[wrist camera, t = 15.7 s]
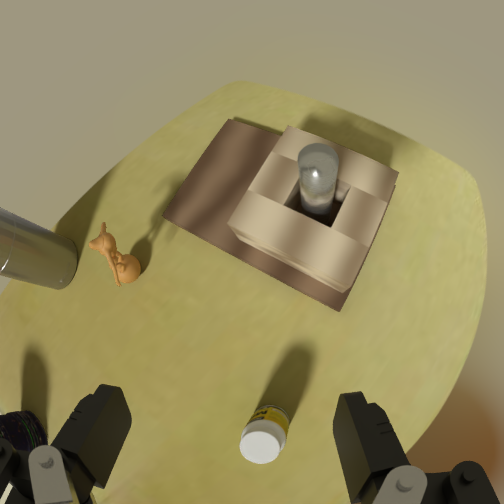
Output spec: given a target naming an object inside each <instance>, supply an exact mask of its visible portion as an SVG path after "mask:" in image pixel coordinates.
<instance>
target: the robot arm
mask: <svg viewBox="0 0 504 504" xmlns="http://www.w3.org/2000/svg"><path fill="white" fill-rule="evenodd" d="M76 267H77V250H76V247H75V245H74V243H73V242H72V241H71V240H70V239H67V238H65V237H63V236H61V235H58V234H56V233H54V232H52V231H50V230H47V229H45V228H43V227H41V226H39V225H36V224H34V223H32V222H30V221H28V220H26V219H24V218H21V217H19V216H17V215H15V214H13V213H11V212H8V211H7V210H5V209H3V208H1V207H0V275H2V276H5V277H9V278H13V279H17V280H20V281H24V282H28V283H32V284H36V285H41V286H45V287H49V288H54V289H63V288H65V287H66V286H67V285H68V284H69V283H70V282H71V280H72V278H73V276H74V274H75V271H76ZM131 422H132V418H131V413H130V410H129V408H128V405H127V403H126V400H125V397H124V394H123V391H122V389H121V388H120V387H116V386H111V385H106V384H101V385H99V387H98V388H97V390H96V391H95V393H94V394H89V395H87V396H86V397H85V398H83V399H82V400H80V402H79V403H78V405H77V406H76V407H75V409H74V412H72V413H71V415H70V416H69V419H67V421H66V422H65V424H64V425H63V427H62V428H61V430H60V431H59V433H58V435H57V436H56V438H55V439H54V441H53V442H52V444H51V445H50V446H49V445H42V446H39V447H37V448H35V449H34V450H33V451H32V452H29V451H22V450H17V449H14V447H13V446H12V445H11V443H10V442H9V441H8V440H6V439H4V438H0V499H1V497H2V495H3V493H4V491H5V489H6V487H7V485H8V483H10V484H11V485H12V486H13V487H12V489H11V491H10V493H9V496H8V497H7V500H6V502H5V504H97V503H96V501H95V498H94V495H93V493H92V492H91V490H92V488H93V486H96V487H99V488H102V489H104V488H105V486H106V483H107V481H108V479H109V476H110V474H111V471H112V469H113V467H114V464H115V462H116V460H117V457H118V455H119V453H120V450H121V448H122V446H123V443H124V441H125V439H126V437H127V434H128V432H129V430H130V427H131ZM333 435H334V439H335V442H336V446H337V450H338V454H339V458H340V462H341V466H342V469H343V473H344V477H345V481H346V485H347V489H348V493H349V498H350V502H351V504H354V503H358V502H361V504H500V502H499V500H498V498H497V496H496V494H495V492H494V489H493V487H492V486H491V483H490V481H489V479H488V477H487V475H486V473H485V471H484V469H483V468H482V467H481V465H479V464H478V463H476V462H473V461H464V462H461V463H459V464H457V465H456V466H455V467H454V468H453V470H452V471H450V472H441V473H424V472H423V471H422V470H421V469H419V468H417V467H414V466H411V464H410V463H409V461H408V459H407V457H406V455H405V453H404V451H403V448H402V446H401V444H400V442H399V440H398V438H397V436H396V433H395V432H394V429H393V427H392V425H391V423H390V421H389V419H388V417H387V415H386V413H385V411H384V410H383V409H382V408H381V407H380V406H378V405H377V404H376V403H370V404H367V401H366V399H365V397H364V395H363V393H362V392H361V391H359V392H352V393H344V394H340V396H339V400H338V404H337V408H336V412H335V416H334V420H333Z"/></svg>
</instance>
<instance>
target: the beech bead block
mask: <svg viewBox="0 0 504 504" xmlns="http://www.w3.org/2000/svg"><path fill="white" fill-rule="evenodd" d="M313 143H322V144H326V145H328V146H330V147H331V148H333V149H334V150H335V152H336V153H337V155H338V158H339V165H338V172H337V178H336V185H335V191H334V197H333V202H335V203H337V204H339V205H341V206H342V207H341V209H340V211H339V213H338V215H337V217H336V219H335V221H334V223H333V225H332V227H331V228H330V227H328V226H326V225H324V224H322V223H319V222H317V221H315V220H313V219H311V218H309V217H307V216H305V215H303V214H301V213H299V212H296V211H295V209H296V208H297V206H298V204H299V202H300V200H301V192H300V181H299V170H298V154H299V152H300V151H301V150H302V148H304V147H305V146H307V145H309V144H313ZM398 174H399V172H397V171H395V170H393V169H391V168H389V167H387V166H385V165H383V164H381V163H379V162H377V161H375V160H373V159H371V158H368V157H366V156H364V155H362V154H360V153H357V152H355V151H353V150H351V149H348V148H346V147H344V146H341V145H339V144H336V143H334V142H331V141H329V140H326V139H324V138H321V137H319V136H316V135H314V134H311V133H308V132H306V131H303V130H300V129H297V128H295V127H292V126H289V125H288V126H287V128H286V129H285V131H284V133H283V134H282V136H281V137H280V139H279V140H278V142H277V143H276V145H275V147H274V148H273V150H272V151H271V153H270V154H269V156H268V158H267V159H266V161H265V162H264V164H263V165H262V167H261V169H260V170H259V172H258V173H257V175H256V177H255V178H254V180H253V181H252V183H251V185H250V186H249V188H248V190H247V191H246V193H245V194H244V196H243V198H242V199H241V201H240V203H239V204H238V206H237V208H236V209H235V211H234V212H233V214H232V216H231V217H230V219H229V221H228V222H227V224H228V225H229V226H230V228H231V229H232V230H233V232H234V233H235V234H236V236H237V237H238V238H239V240H241V241H243V242H245V243H247V244H249V245H251V246H253V247H255V248H257V249H259V250H261V251H263V252H264V253H266V254H268V255H270V256H272V257H274V258H276V259H278V260H280V261H282V262H284V263H286V264H288V265H290V266H292V267H293V268H295V269H297V270H299V271H301V272H303V273H305V274H307V275H309V276H311V277H313V278H315V279H317V280H318V281H320V282H322V283H324V284H326V285H328V286H330V287H332V288H334V289H336V290H338V291H340V292H341V293H344V292H345V291H346V290H347V289H349V288H350V287H351V285H352V283H353V281H354V279H355V277H356V275H357V273H358V271H359V269H360V267H361V265H362V262H363V260H364V258H365V256H366V254H367V251H368V249H369V247H370V245H371V242H372V240H373V238H374V235H375V233H376V231H377V228H378V226H379V223H380V221H381V219H382V216H383V214H384V211H385V209H386V206H387V204H388V201H389V198H390V196H391V193H392V190H393V188H394V185H395V182H396V180H397V177H398Z"/></svg>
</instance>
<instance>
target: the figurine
mask: <svg viewBox="0 0 504 504" xmlns="http://www.w3.org/2000/svg"><path fill="white" fill-rule="evenodd" d="M106 228H107V227H106V224H105V222H103V223H102V225H101V231H100V235H99V236H98V237H97V238H96V239H94V240H92V241H90V243H89V247H90V248H91V249H94V250H99V252H100V253H101V254H102V255H105V256H106V257H107V259H108V262H109V266H110V268H111V269H112V270H113V273H114V278H115V280H116V282H115V283H117V286H118V285H119V287H120V286H121V284H120V282H119V281H121V282H123V283H131V282H134V281H135V280H136V279H137V278H138V277H139V275H140V272H141V266H140V263H139V261H138V260H137V258H135V257H134V256H132V255H129V254H125V255H122V254H121V253H120V252H118V251H117V247H116V242H115V239H114V237H113V236H112V235H111V234H110V233H107V232H106ZM117 256H119V257H117Z"/></svg>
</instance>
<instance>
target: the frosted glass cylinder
mask: <svg viewBox="0 0 504 504" xmlns="http://www.w3.org/2000/svg"><path fill="white" fill-rule="evenodd" d="M338 165H339V158H338V155H337V153H336V152H335V150H334V149H333V148H331V147H330V146H328V145H326V144H322V143H313V144H309V145H307V146H305V147H304V148H302V150H301V151H300V152H299V154H298V170H299V181H300V192H301V204H302V214H303V215H305V216H307V217H309V218H311V219H313V220H315V221H317V222H319V223H322V224H324V225H327V224H328V223H329V220H330V215H331V209H332V203H333V197H334V191H335V185H336V178H337V172H338Z"/></svg>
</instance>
